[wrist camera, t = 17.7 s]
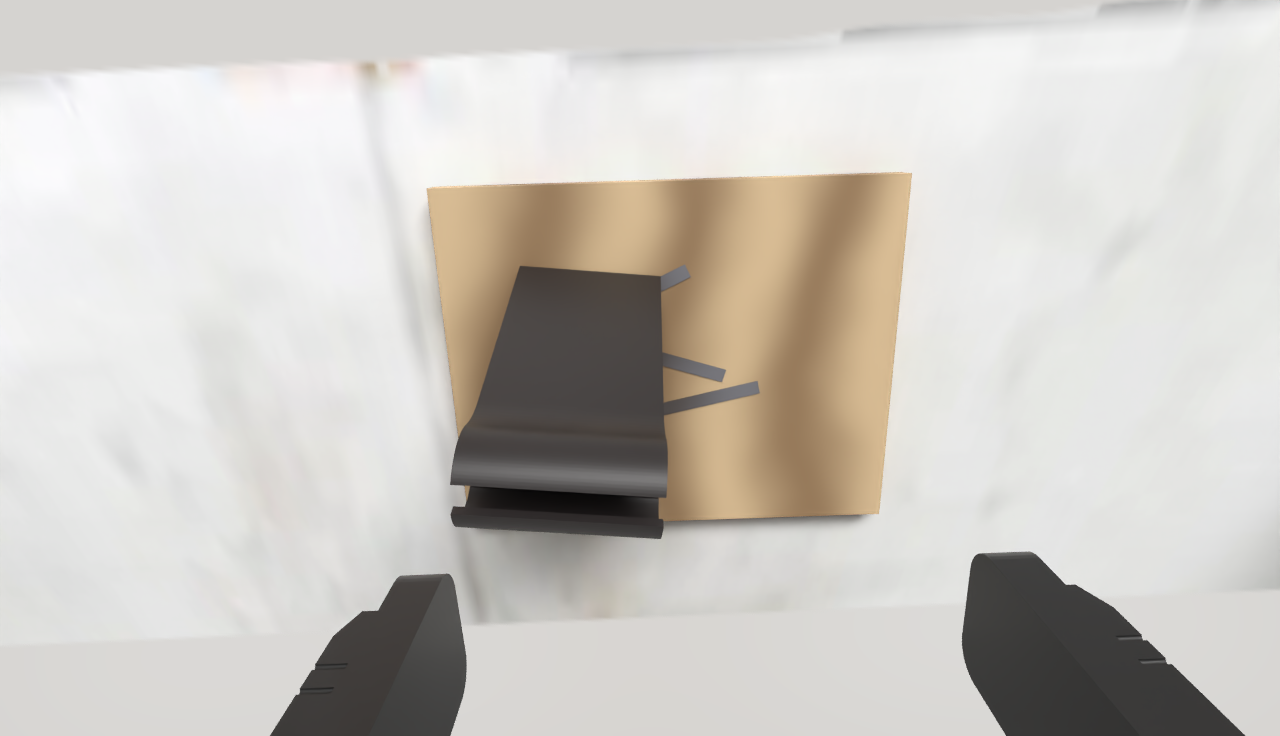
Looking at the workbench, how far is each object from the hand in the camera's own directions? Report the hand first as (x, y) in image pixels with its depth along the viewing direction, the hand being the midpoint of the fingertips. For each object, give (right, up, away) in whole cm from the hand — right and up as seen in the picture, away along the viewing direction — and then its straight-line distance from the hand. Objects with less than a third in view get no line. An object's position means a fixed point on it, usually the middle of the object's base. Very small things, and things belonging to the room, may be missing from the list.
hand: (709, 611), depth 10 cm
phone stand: (-4, +4, +20) cm, 20 cm away
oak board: (0, +4, +21) cm, 21 cm away
